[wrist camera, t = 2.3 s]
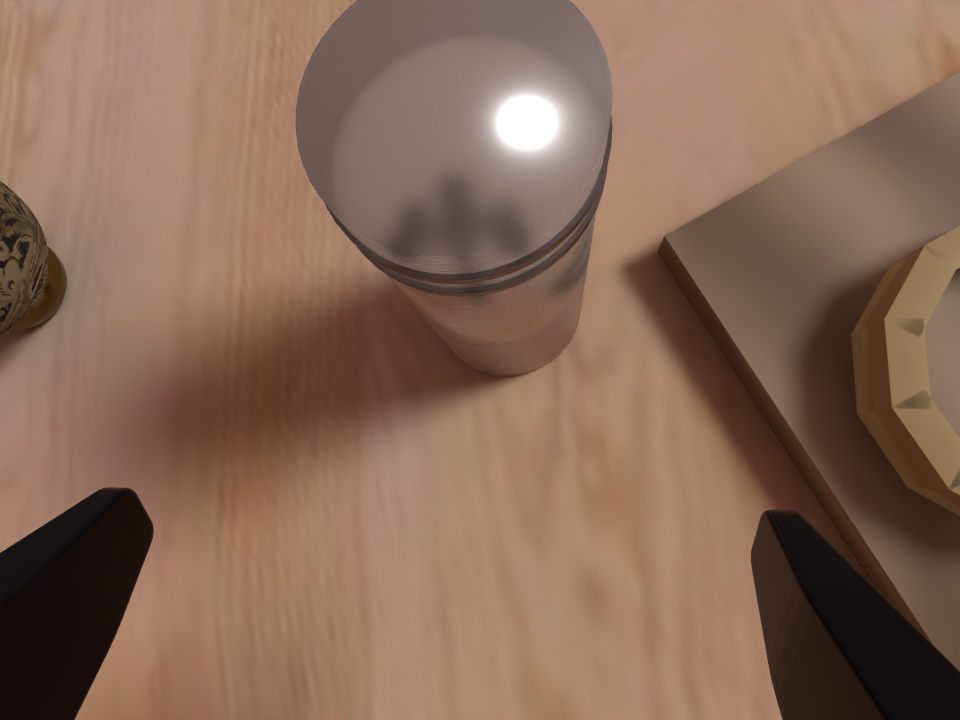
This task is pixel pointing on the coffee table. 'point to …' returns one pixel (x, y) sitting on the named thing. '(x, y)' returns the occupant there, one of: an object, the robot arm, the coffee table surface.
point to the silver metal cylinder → (466, 162)
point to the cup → (26, 268)
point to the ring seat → (855, 337)
